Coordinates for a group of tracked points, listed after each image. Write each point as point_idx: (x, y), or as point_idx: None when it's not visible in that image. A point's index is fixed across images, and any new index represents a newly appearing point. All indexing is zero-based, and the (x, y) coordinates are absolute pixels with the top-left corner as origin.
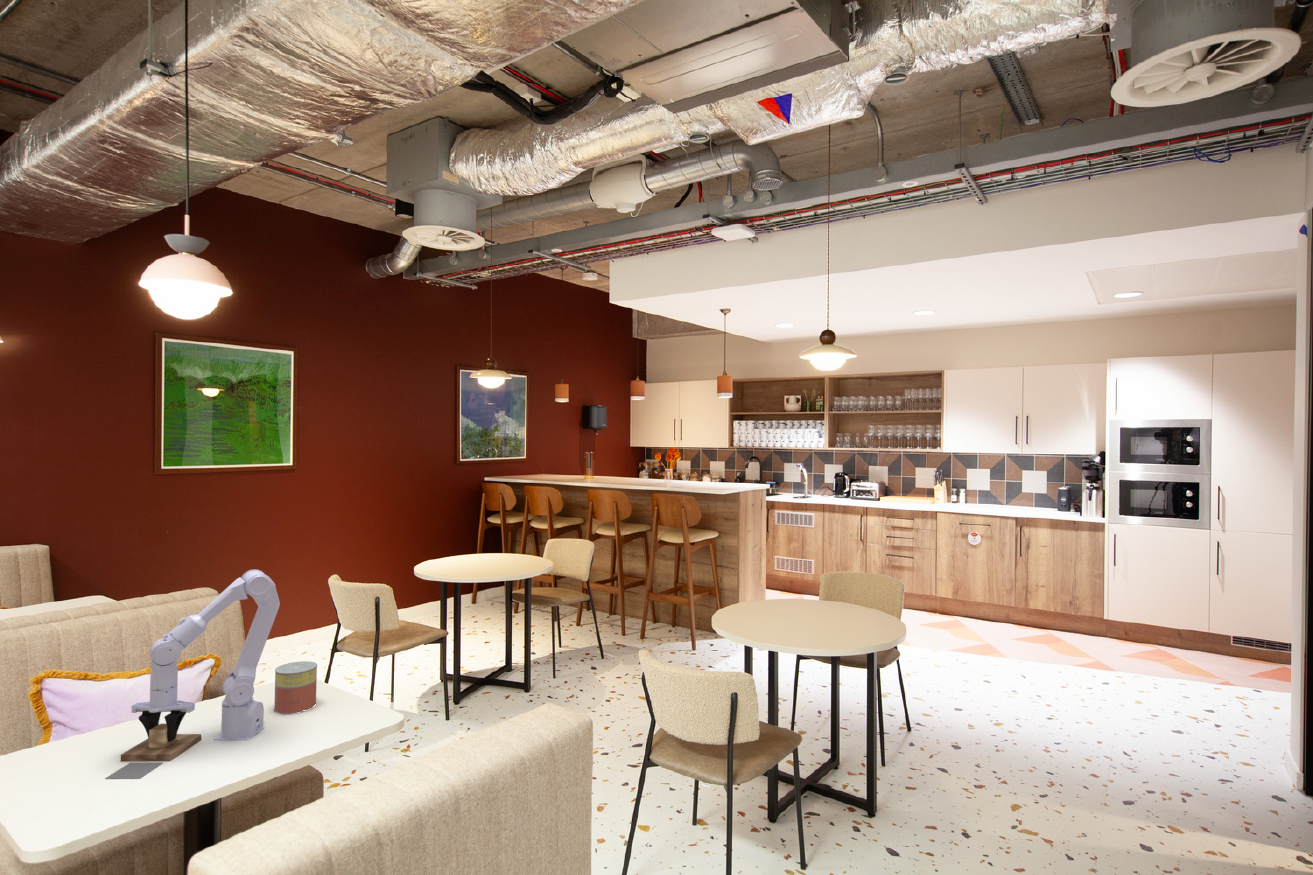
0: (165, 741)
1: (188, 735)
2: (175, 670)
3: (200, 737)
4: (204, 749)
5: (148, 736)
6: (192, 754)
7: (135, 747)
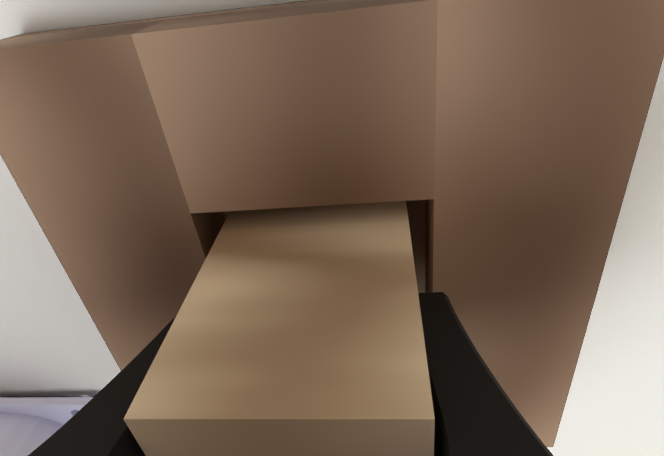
0: (197, 276)
1: None
2: None
3: None
4: (25, 293)
5: (456, 334)
6: (15, 214)
7: (581, 215)
